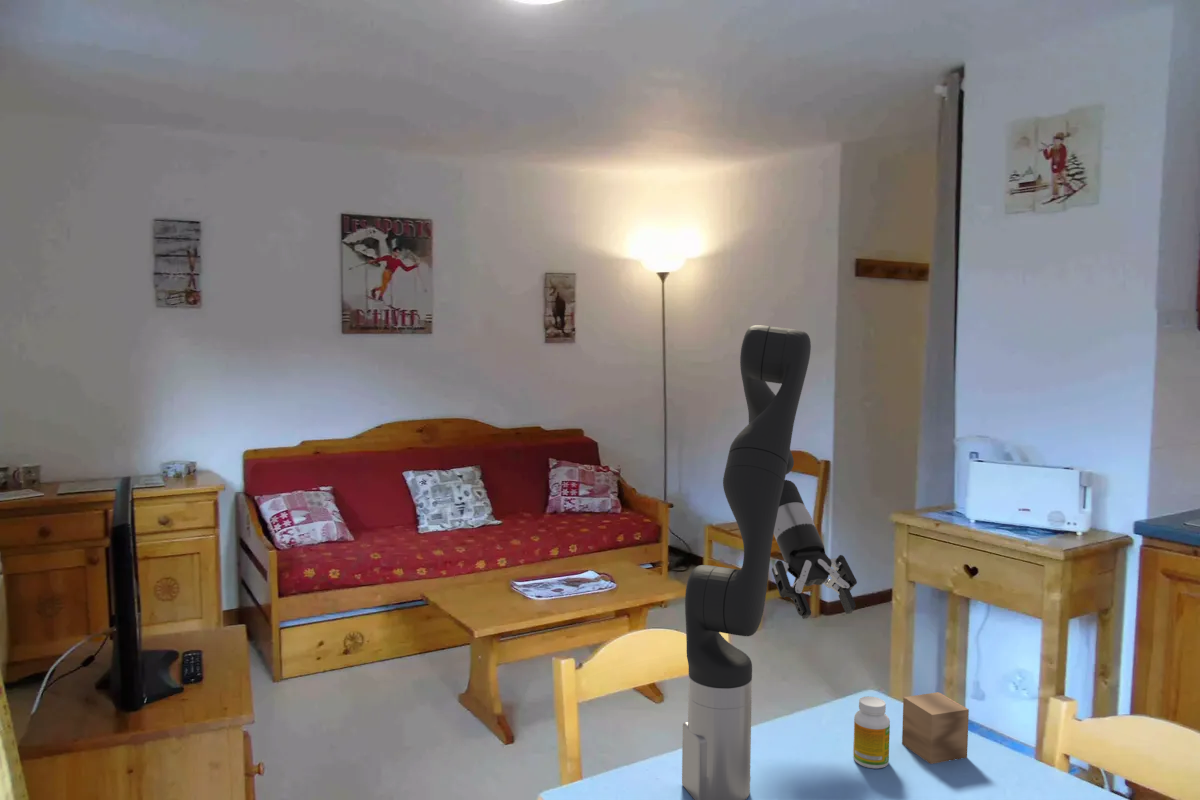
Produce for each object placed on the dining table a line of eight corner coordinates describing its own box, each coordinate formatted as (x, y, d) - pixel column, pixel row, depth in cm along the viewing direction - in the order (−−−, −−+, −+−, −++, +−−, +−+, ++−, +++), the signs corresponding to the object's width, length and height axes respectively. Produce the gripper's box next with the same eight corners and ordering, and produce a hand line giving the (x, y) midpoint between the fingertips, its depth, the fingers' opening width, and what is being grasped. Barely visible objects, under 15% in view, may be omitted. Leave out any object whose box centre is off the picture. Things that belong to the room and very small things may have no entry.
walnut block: (930, 764, 133) (932, 714, 132) (902, 744, 139) (903, 697, 139) (967, 758, 135) (968, 709, 134) (937, 738, 141) (938, 692, 141)
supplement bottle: (890, 771, 130) (892, 710, 130) (854, 767, 131) (856, 706, 131) (886, 754, 136) (888, 695, 135) (851, 751, 137) (853, 692, 136)
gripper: (768, 524, 149) (801, 607, 139) (838, 519, 154) (875, 599, 144) (753, 547, 155) (784, 628, 145) (821, 541, 159) (856, 620, 149)
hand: (829, 614), depth 144 cm, fingers open, 8 cm apart
